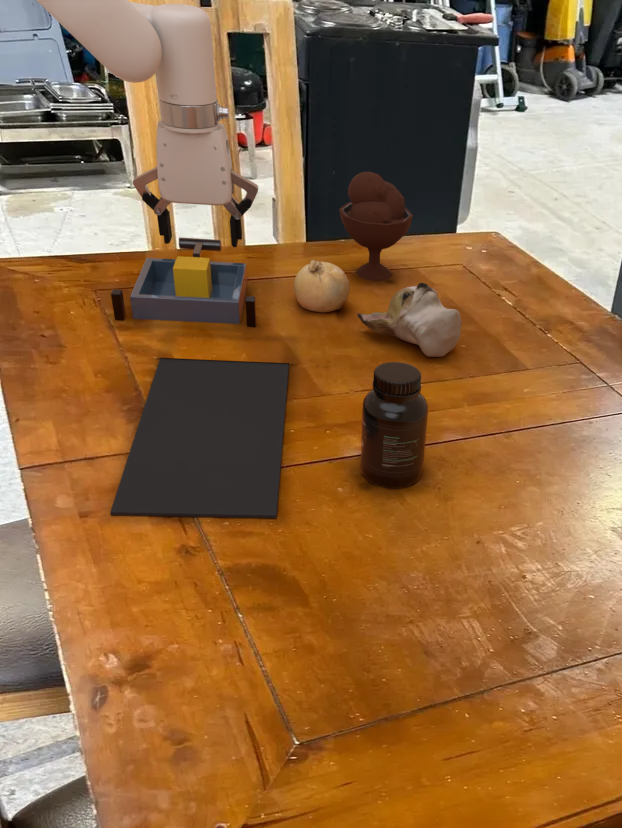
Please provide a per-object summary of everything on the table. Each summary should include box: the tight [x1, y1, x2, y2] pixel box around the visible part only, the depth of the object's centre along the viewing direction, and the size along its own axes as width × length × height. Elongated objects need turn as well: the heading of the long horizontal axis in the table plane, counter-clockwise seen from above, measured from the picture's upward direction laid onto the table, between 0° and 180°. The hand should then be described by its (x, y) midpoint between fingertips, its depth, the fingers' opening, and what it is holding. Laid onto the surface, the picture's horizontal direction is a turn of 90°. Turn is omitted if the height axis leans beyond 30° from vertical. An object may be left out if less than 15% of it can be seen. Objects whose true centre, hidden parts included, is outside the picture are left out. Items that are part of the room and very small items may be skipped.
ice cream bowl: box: [339, 171, 414, 282], centre depth 135 cm, size 11×11×15 cm
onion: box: [293, 259, 351, 313], centre depth 126 cm, size 8×8×7 cm
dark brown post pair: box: [110, 288, 258, 328], centre depth 119 cm, size 2×18×4 cm, turn 96°
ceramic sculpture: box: [356, 282, 463, 358], centre depth 120 cm, size 11×9×15 cm
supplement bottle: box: [360, 361, 429, 489], centre depth 93 cm, size 7×7×12 cm
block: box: [173, 255, 212, 298], centre depth 125 cm, size 4×4×4 cm
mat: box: [109, 357, 290, 519], centre depth 103 cm, size 16×42×1 cm, turn 6°
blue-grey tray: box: [129, 237, 248, 325], centre depth 126 cm, size 20×14×5 cm
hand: (201, 242), depth 131 cm, fingers open, 9 cm apart
